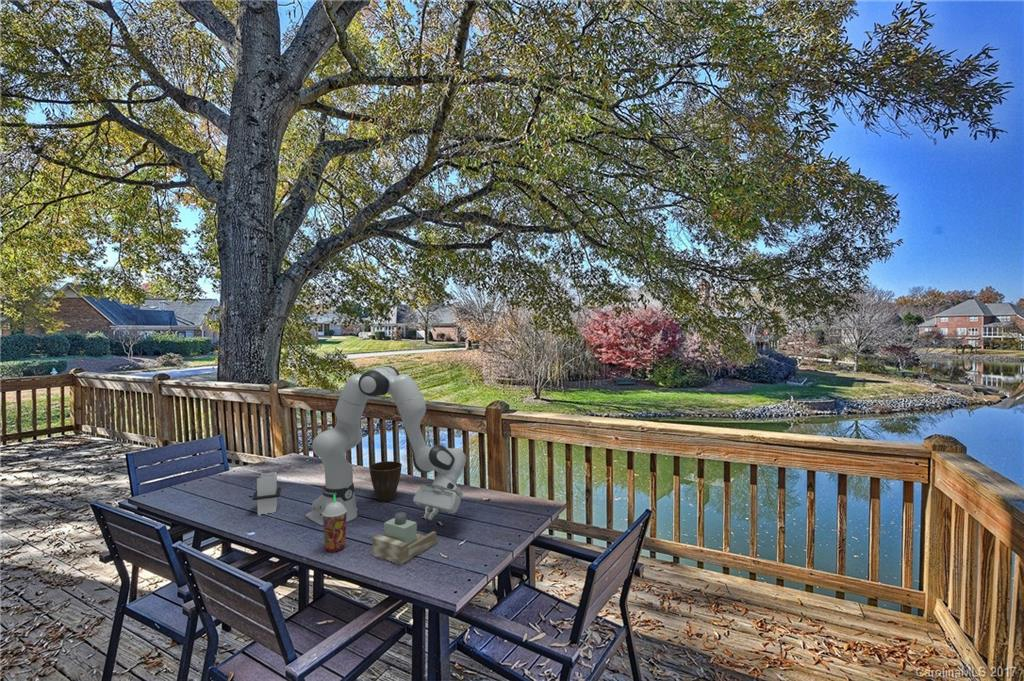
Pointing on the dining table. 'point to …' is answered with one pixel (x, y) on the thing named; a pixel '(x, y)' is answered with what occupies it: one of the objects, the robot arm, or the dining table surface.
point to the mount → (401, 547)
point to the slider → (401, 529)
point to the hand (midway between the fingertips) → (427, 518)
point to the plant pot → (385, 479)
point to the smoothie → (334, 526)
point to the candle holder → (267, 493)
